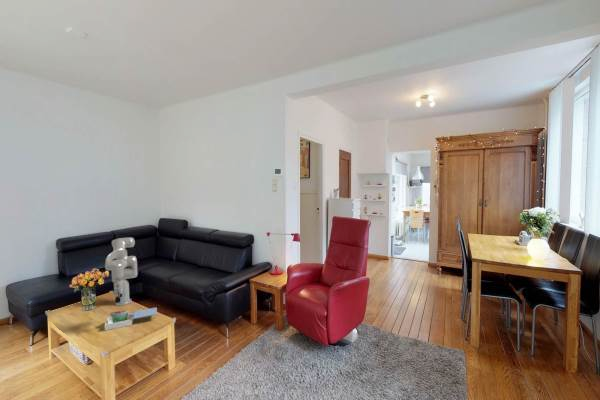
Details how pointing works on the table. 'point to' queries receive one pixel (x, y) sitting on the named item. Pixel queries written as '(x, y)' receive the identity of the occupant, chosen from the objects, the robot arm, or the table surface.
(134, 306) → the table surface
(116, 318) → the food container
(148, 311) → the lid
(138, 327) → the table surface
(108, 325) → the white rectangular tray
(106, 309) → the table surface
